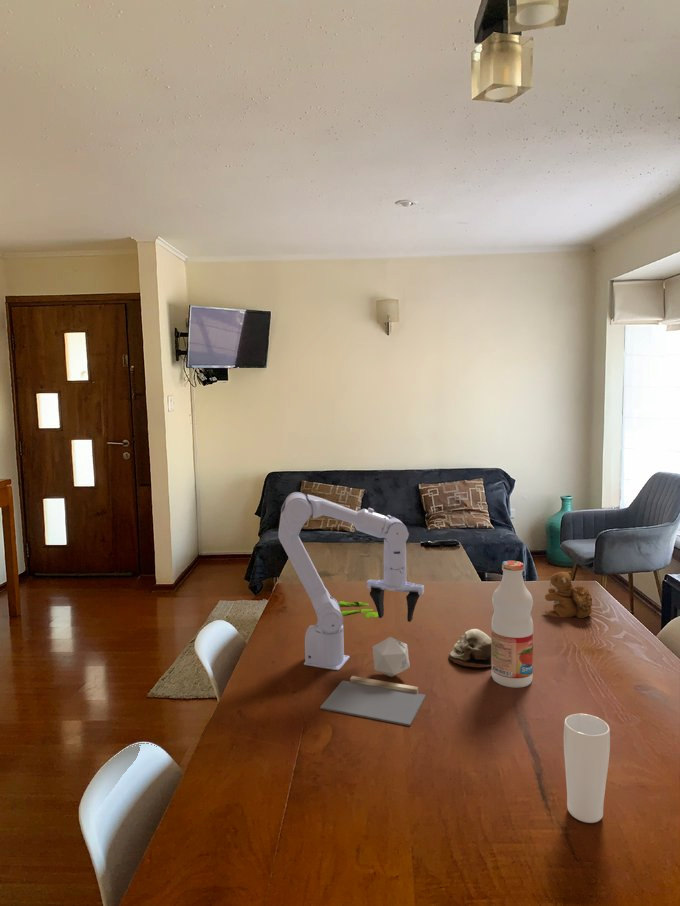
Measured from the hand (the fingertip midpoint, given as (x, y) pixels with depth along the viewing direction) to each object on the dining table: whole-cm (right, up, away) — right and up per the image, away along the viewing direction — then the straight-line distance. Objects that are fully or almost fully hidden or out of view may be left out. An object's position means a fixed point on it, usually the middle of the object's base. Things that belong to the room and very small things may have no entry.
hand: (395, 618), depth 154 cm
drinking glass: (+25, -16, -57) cm, 65 cm away
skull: (+19, -12, -5) cm, 23 cm away
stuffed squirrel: (+55, -7, +28) cm, 62 cm away
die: (-2, -12, -9) cm, 15 cm away
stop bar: (-4, -12, -15) cm, 19 cm away
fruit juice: (+26, -11, -12) cm, 31 cm away
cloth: (-11, -8, +37) cm, 39 cm away
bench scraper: (-7, -13, -21) cm, 26 cm away
